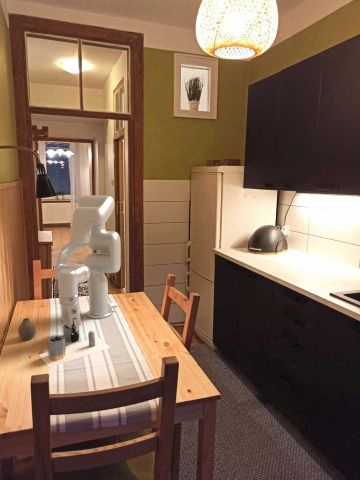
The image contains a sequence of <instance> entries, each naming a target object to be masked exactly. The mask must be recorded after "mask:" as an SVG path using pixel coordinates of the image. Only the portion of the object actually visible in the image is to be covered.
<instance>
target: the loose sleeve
mask: <svg viewBox="0 0 360 480" xmlns="http://www.w3.org/2000/svg"><path fill="white" fill-rule="evenodd" d="M73 326H74V325H72V327H73ZM72 329H73V330H74V329H75V328H72ZM62 331H63V337H64V338H65V342H71V335H70V334H71V330H70V328H69V327H68V326H66V325H64V324H63V326H62Z"/></svg>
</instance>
